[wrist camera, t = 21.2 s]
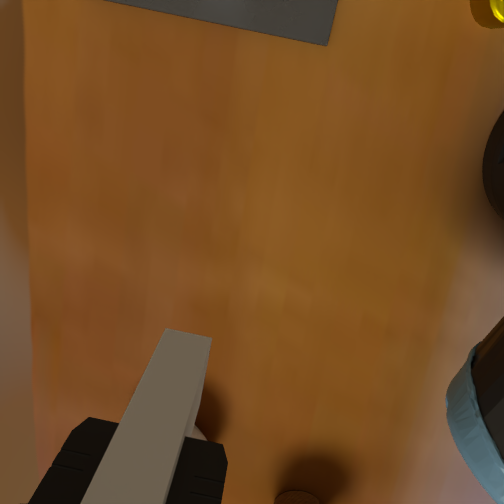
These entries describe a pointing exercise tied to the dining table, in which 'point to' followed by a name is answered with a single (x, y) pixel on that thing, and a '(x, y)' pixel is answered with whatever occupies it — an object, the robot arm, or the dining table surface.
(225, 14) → the mounting plate
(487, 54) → the dining table surface
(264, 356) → the dining table surface
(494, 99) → the dining table surface
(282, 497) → the disposable coffee cup
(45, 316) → the dining table surface
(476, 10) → the element tile
